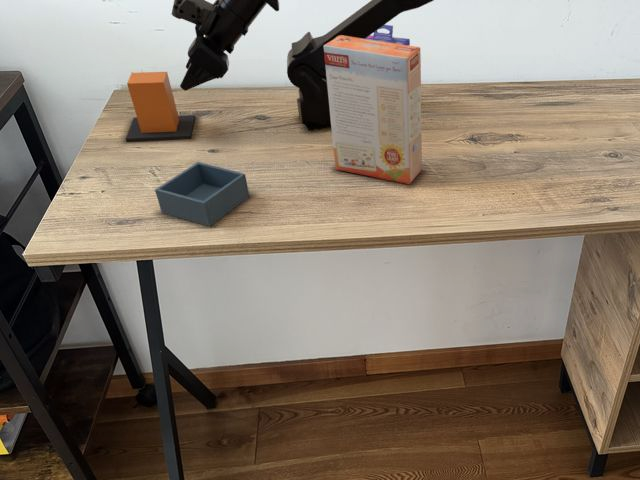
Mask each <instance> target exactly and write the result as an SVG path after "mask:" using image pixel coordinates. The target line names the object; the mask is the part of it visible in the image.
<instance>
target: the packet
mask: <svg viewBox="0 0 640 480" xmlns="http://www.w3.org/2000/svg"><path fill="white" fill-rule="evenodd" d="M169 77H170V76H169V74H168V71H148V72H147V71H146V72H131V73H130V75H129V78H128V81H127V82H126V85H127V89H128V92H129V95H130V98H131V103H132V106H133V109H134V112H135V115H136V118H137V119H138V123H139V126H140V129H141V133H155V132H176V131H177V127H178V123H179V117H178V116H179V113H178V109H177V106H176V101H175V98H174V97H175V96H174V93H173V90H172V85H171V82H170V81H171V80H170V78H169Z"/></svg>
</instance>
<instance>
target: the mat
mask: <svg viewBox="0 0 640 480" xmlns="http://www.w3.org/2000/svg"><path fill="white" fill-rule="evenodd" d="M178 117H179V123H178V127H177V131H176V132H155V133H141V129H140V126H139V123H138V119H137V117H133V118H132V121H131V124H130V126H129V129H128V131H127V134H126V136H125V141H126V143H129V142H131V143H132V142H147V141H148V142H149V141H151V142H152V141H153V142H154V141H171V140H172V141H173V140H191V139H192V135H193V131H194V126H195V122H196V115H195V114H193V115H192V114H191V115H189V114H188V115H178Z"/></svg>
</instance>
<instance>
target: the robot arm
mask: <svg viewBox="0 0 640 480" xmlns="http://www.w3.org/2000/svg"><path fill="white" fill-rule="evenodd" d="M434 1H435V0H370V1H368V2H367V3H366V4H365V5H363V6H361V8H359V9H358V10H356V11H354V13H352V14H351V15H350V16H348V17H347V18H345V20H343V21H342V22H340V23H339V24H337V25H336V26H334V27H333V28H332V29H331V30H329V31H328V32H327V33H325V34H323V35H320V36H316V37H313V35H312V33H311V32H310V31H307V32H306V33H305V34H304V35H303V37H301V38H300V39H299V40H297V41H295V42H291V48H290V49H289V50H288V53H287V56H286V74H287V78H288V81H289V82H290V83H291V84H292V85H293V86H294V87H296V88H298V97H297V98H296V105H297V113H298V119H299V121H300V123H301V124H302V125H303V126H304V127H305V129H306V130H307V131H308V132H314V131H318V130H325V129H332V128H331V118H330V107H329V97H328V87H327V76H326V66H325V55H324V45H325V44H327V43H328V42H330V41H332V40H333V39H335V38H336V37H338V36H340V35H344V36H350V37H356V38H363V39H365V38H367V37H368V36H370V35H372V34H374V32H375V31H376V30H377V31H378V30H380V29H379V28H381V27H382V26H383V25H387V24H388V23H389V22H391V21H392V20H393V19H395V18H396V17H397V16H399V15H400V14H402V13H404V12H408V11H412V10H416V9H419V8H420V7H423V6H425V5H428V4H430V3H433V2H434ZM267 5H268V6H269V7H271V9H273V10H274V11H275V12H279V11H280V0H215V1H214V2H213V3H211V2H209V1H207V0H173V5H172V10H171V16H172V17H174V18H176V19H178V20H183V21H186V22H188V23H191V24H194V25H195V26H194V31H195V36H196V37H195V38H194V39H193V41H192V42H191V44H190V45H189V47H188V50H187V57H188V59H187V62H186V65H185V68H186V69H187V70H186V72H185V74H184V76H183V78H182V81H181V82H180V85H179V86H180V89H181V90H183V91H185V92H186V91H189V90H191V89H193V88H195V87H198V86H200V85H202V84H206V83H207V82H210V81H213V80H216V79H223V78H224V76H225V75H226V73H227V72H228V71H229V67H230V59H229V55H228V54H230V55H231V54H232V53H233V51H234V50H235V45H236V44H237V43H238V42H239V40H240V39H241V38H242V37H245V36H246V35H247V34H248V32H249V28H250V27H251V25H252V23H253V22H254V21H255V20H256V19H257V18H258V16H259V15H260V13H261V12H262V10H264V8H265V7H266V6H267ZM226 52H227V53H228V54H227V53H226Z"/></svg>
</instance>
